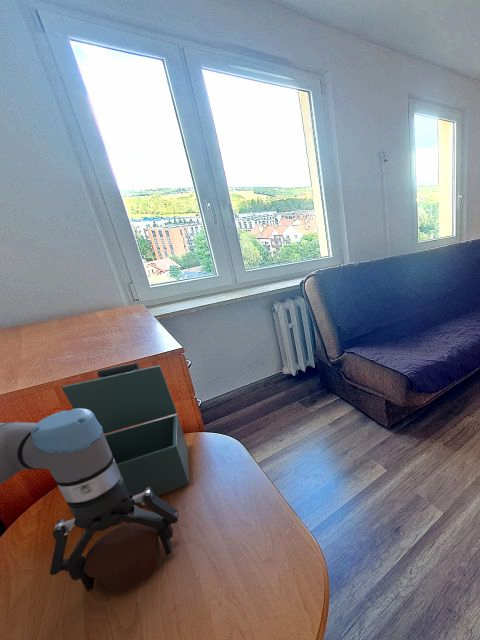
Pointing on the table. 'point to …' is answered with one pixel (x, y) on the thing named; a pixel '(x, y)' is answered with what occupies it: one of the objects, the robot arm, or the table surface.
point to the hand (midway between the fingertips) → (132, 565)
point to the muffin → (123, 556)
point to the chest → (151, 455)
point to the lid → (123, 396)
